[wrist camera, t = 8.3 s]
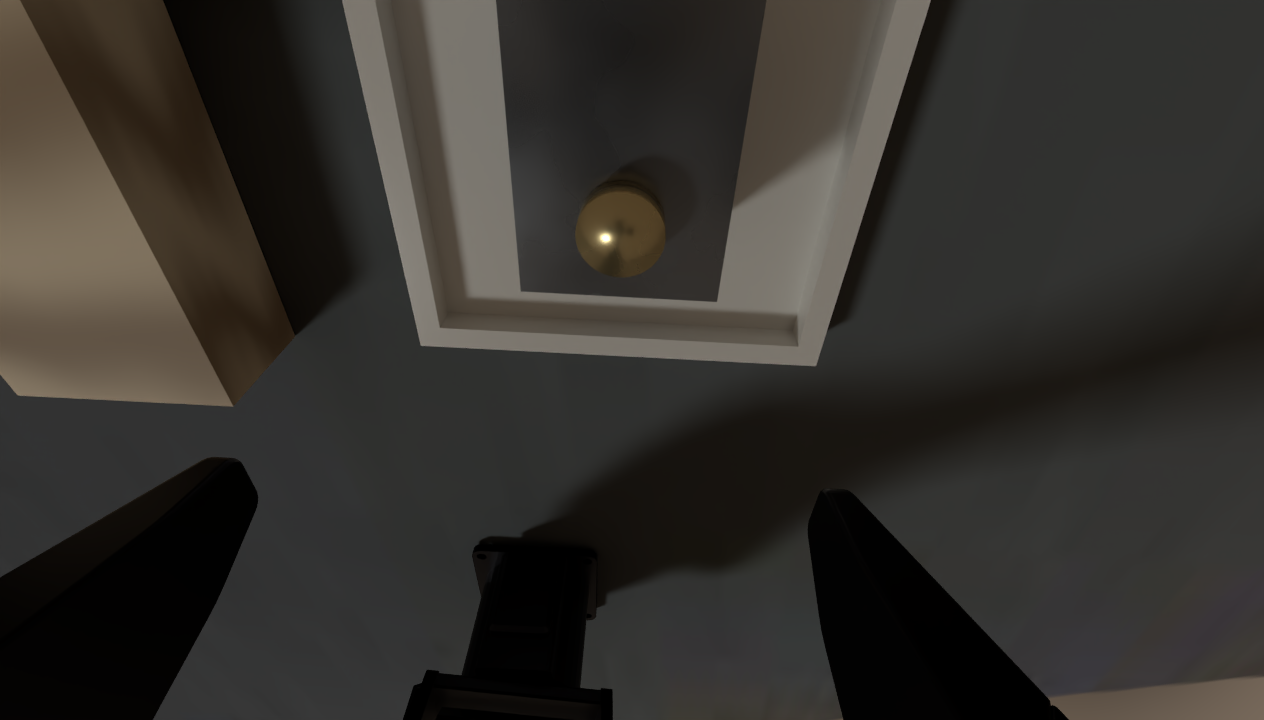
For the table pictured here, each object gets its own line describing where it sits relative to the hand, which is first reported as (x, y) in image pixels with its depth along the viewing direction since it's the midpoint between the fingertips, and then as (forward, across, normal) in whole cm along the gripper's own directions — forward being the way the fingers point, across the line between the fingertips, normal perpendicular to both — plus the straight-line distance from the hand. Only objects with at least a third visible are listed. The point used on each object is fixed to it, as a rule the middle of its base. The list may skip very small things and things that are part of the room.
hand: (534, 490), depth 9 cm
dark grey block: (+11, -1, -3) cm, 12 cm away
